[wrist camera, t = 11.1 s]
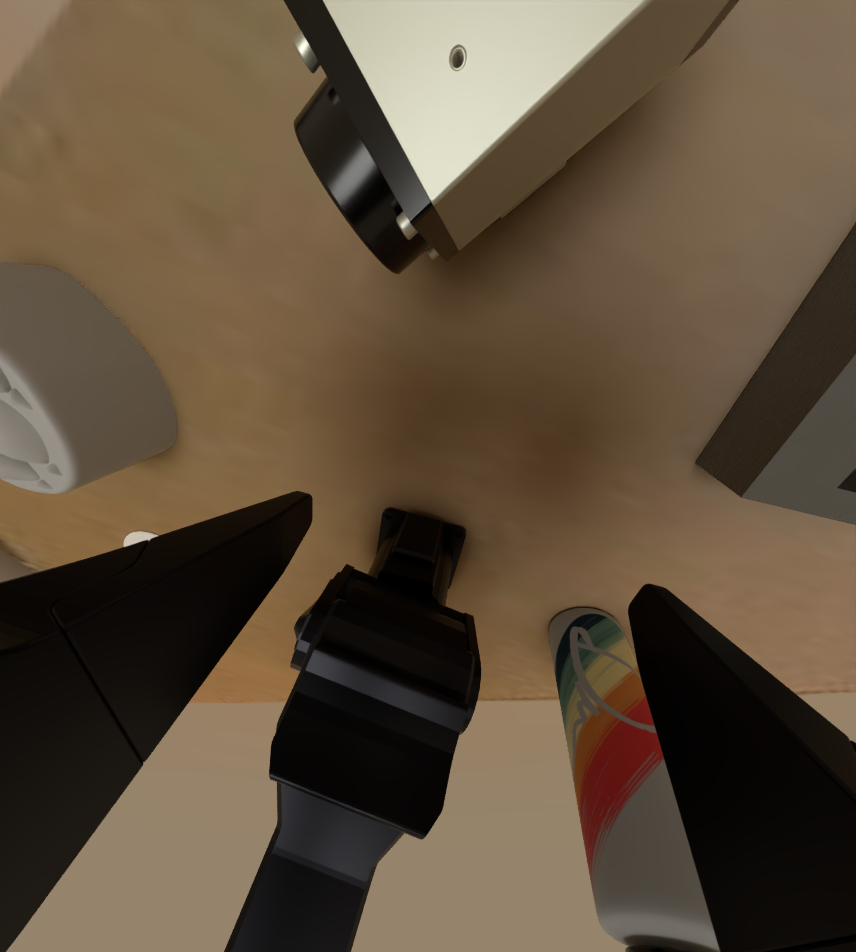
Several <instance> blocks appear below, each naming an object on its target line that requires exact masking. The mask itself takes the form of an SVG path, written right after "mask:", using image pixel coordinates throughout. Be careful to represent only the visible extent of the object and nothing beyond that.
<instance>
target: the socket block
mask: <svg viewBox="0 0 856 952" xmlns="http://www.w3.org/2000/svg"><path fill="white" fill-rule="evenodd" d="M696 464H697V465H699V466H700V467H701V468H703V469H704V470H705V471H707V472H708V473H709V474H711V475H712V476H713V477H715V478H716V479H717V480H719V481H720V482H721V483H723V484H724V485H725V486H727V487H728V488H729V489H731V490H732V491H733V492H735V493H736V494H737V495H739V496H740V497H741V498H746V499H750V500H754V501H758V502H762V503H766V504H771V505H775V506H779V507H783V508H787V509H791V510H796V511H800V512H804V513H808V514H812V515H817V516H821V517H825V518H829V519H833V520H837V521H842V522H846V523H850V524H854V525H856V224H855V226H854V227H853V229H852V230H851V232H850V233H849V235H848V236H847V238H846V239H845V241H844V242H843V244H842V245H841V247H840V248H839V250H838V251H837V253H836V254H835V256H834V257H833V259H832V260H831V262H830V263H829V265H828V266H827V268H826V269H825V271H824V272H823V274H822V275H821V277H820V278H819V280H818V281H817V282H816V284H815V285H814V287H813V288H812V290H811V291H810V293H809V294H808V296H807V297H806V299H805V300H804V302H803V303H802V305H801V306H800V308H799V309H798V311H797V312H796V314H795V315H794V317H793V318H792V320H791V321H790V323H789V324H788V326H787V327H786V329H785V330H784V332H783V333H782V335H781V336H780V338H779V339H778V341H777V342H776V344H775V345H774V347H773V348H772V349H771V351H770V352H769V354H768V355H767V357H766V358H765V360H764V361H763V363H762V364H761V366H760V367H759V369H758V370H757V372H756V373H755V375H754V376H753V378H752V379H751V381H750V382H749V384H748V385H747V387H746V388H745V390H744V391H743V393H742V394H741V396H740V397H739V399H738V400H737V402H736V403H735V405H734V406H733V408H732V409H731V411H730V412H729V414H728V415H727V416H726V418H725V419H724V421H723V422H722V424H721V425H720V427H719V428H718V430H717V431H716V433H715V434H714V436H713V437H712V439H711V440H710V442H709V443H708V445H707V446H706V448H705V449H704V451H703V452H702V454H701V455H700V457H699V458H698V460H697V461H696Z"/></svg>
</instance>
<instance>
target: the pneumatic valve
mask: <svg viewBox="0 0 856 952" xmlns="http://www.w3.org/2000/svg"><path fill="white" fill-rule="evenodd" d="M738 1H739V0H284V2H285V3H286V5H287V7H288V9H289V10H290V12H291V14H292V16H293V17H294V19H295V21H296V23H297V24H298V26H299V28H300V30H299V31H298V33H297V34H296V36H295V37H294V39H293V44H294V46H295V48H296V50H297V52H298V53H299V55H300V57H301V58H302V60H303V61H304V63H305V64H306V66H307V67H308V69H309V70H310V71H311V72H312V73H315V71H316V70H317V68H318V67H319V66H320V65H321V67H322V68H323V70H324V72H325V74H326V75H327V77H326V78H325V79H324V81H323V82H322V83H321V85H320V86H319V87H318V89H317V90H316V91H315V93H314V94H313V96H312V97H311V98H310V100H309V101H308V102H307V104H306V105H305V106H304V108H303V109H302V110H301V112H300V113H299V115H298V116H297V117H296V119H295V121H294V129H295V133H296V136H297V139H298V141H299V143H300V145H301V147H302V149H303V152H304V154H305V155H306V157H307V159H308V161H309V163H310V165H311V166H312V168H313V170H314V172H315V173H316V175H317V177H318V178H319V180H320V181H321V183H322V185H323V186H324V188H325V189H326V191H327V193H328V194H329V196H330V197H331V199H332V200H333V202H334V203H335V205H336V206H337V207H338V209H339V210H340V212H341V213H342V215H343V216H344V217H345V219H346V220H347V222H348V223H349V224H350V226H351V227H352V228H353V230H354V231H355V232H356V234H357V235H358V236H359V238H360V239H361V240H362V241H363V243H364V244H365V245H366V246H367V247H368V249H369V250H370V251H371V252H372V253H373V254H374V256H375V257H376V258H377V259H378V260H379V261H380V262H381V263H382V264H383V265H384V266H385V267H386V268H387V269H389V270H390V271H391V272H393V273H395V274H400V273H401V272H402V271H403V270H404V269H405V268H407V267H408V266H409V265H410V264H411V263H412V262H413V261H415V260H416V259H417V258H418V257H419V256H420V255H421V254H422V253H424V252H425V251H427V253H428V254H429V256H430V257H431V259H432V260H434V259H435V258H436V257H438V256H439V255H440V256H441V257H442V258H443V259H444V260H445V261H448V260H449V259H450V258H451V257H452V256H454V255H455V254H456V253H457V252H458V251H459V250H461V249H462V248H463V247H464V246H465V245H467V244H468V243H469V242H470V241H471V240H473V239H474V238H475V237H476V236H477V235H479V234H480V233H481V232H482V231H483V230H484V229H486V228H487V227H488V226H489V225H490V224H492V223H493V222H494V221H495V220H496V219H498V218H500V219H502V218H503V217H504V216H506V215H507V214H508V213H509V212H510V211H511V210H513V209H514V208H515V207H516V206H517V205H519V204H520V203H521V202H522V201H523V200H525V199H526V198H527V197H528V196H529V195H531V194H532V193H533V192H534V191H535V190H537V189H538V188H539V187H540V186H541V185H543V184H544V183H545V182H546V181H547V180H549V179H550V178H551V177H552V176H553V175H555V174H556V173H557V172H558V171H559V170H561V169H562V168H563V167H564V166H565V165H566V161H567V160H568V159H569V158H570V157H571V156H573V155H574V154H575V153H576V152H577V151H578V150H580V149H581V148H582V147H583V146H584V145H586V144H587V143H588V142H589V141H590V140H592V139H593V138H594V137H595V136H596V135H598V134H599V133H600V132H601V131H602V130H603V129H605V128H606V127H607V126H608V125H609V124H611V123H612V122H613V121H614V120H615V119H617V118H618V117H619V116H620V115H621V114H623V113H624V112H625V111H626V110H627V109H628V108H630V107H631V106H632V105H633V104H634V103H636V102H637V101H638V100H639V99H640V98H642V97H643V96H644V95H645V94H646V93H648V92H649V91H650V90H651V89H652V88H653V87H655V86H656V85H657V84H658V83H659V82H661V81H662V80H663V79H664V78H665V77H667V76H668V75H669V74H670V73H671V72H673V71H674V70H675V69H676V68H677V67H678V66H680V65H681V64H682V63H683V62H684V61H686V60H687V59H688V58H689V57H690V56H692V55H693V54H694V53H695V52H696V51H698V50H699V49H700V48H701V47H702V46H703V45H704V44H705V43H706V41H707V40H708V39H709V38H710V36H711V35H712V34H713V33H714V31H715V30H716V29H717V28H718V26H719V25H720V24H721V23H722V21H723V20H724V19H725V18H726V16H727V15H728V14H729V13H730V11H731V10H732V9H733V8H734V6H735V5H736V4H737V2H738ZM455 244H456V245H455ZM456 246H457V247H456ZM457 248H458V249H457Z"/></svg>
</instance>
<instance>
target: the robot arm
mask: <svg viewBox="0 0 856 952" xmlns="http://www.w3.org/2000/svg"><path fill="white" fill-rule="evenodd" d="M387 514H390V515H391V516H388V515H387ZM311 523H312V496H311V495H310V494H308V493H304V492H300V491H294V492H291V493H288V494H285V495H282V496H279V497H276V498H273V499H270V500H267V501H264V502H261V503H258V504H255V505H252V506H249V507H245V508H242V509H239V510H236V511H233V512H230V513H227V514H224V515H221V516H218V517H215V518H212V519H209V520H206V521H203V522H199V523H196V524H193V525H190V526H187V527H184V528H181V529H178V530H175V531H172V532H169V533H166V534H163V535H160V536H157V537H154V538H151V539H150V540H144V541H141V542H138V543H135V544H132V545H129V546H126V547H123V548H119V549H116V550H113V551H110V552H107V553H103V554H100V555H97V556H94V557H90V558H87V559H83V560H80V561H76V562H73V563H69V564H66V565H62V566H59V567H55V568H52V569H48V570H44V571H41V572H37V573H33V574H30V575H27V576H22V577H19V578H15V579H11V580H8V581H4V582H1V583H0V952H6V951H7V949H8V948H9V947H10V946H11V944H12V943H13V942H14V941H15V939H16V938H17V937H18V935H19V934H20V933H21V931H22V930H23V929H24V927H25V926H26V925H27V923H28V922H29V920H30V919H31V917H32V916H33V915H34V913H35V912H36V911H37V909H38V908H39V907H40V905H41V904H42V903H43V901H44V900H45V898H46V897H47V896H48V894H49V893H50V892H51V890H52V889H53V887H54V886H55V885H56V883H57V882H58V881H59V879H60V878H61V877H62V875H63V874H64V873H65V871H66V870H67V868H68V867H69V866H70V864H71V863H72V861H73V860H74V859H75V858H76V856H77V855H78V853H79V852H80V851H81V849H82V848H83V847H84V845H85V844H86V842H87V841H88V840H89V838H90V837H91V836H92V834H93V833H94V832H95V830H96V829H97V827H98V826H99V825H100V823H101V822H102V820H103V819H104V818H105V816H106V815H107V814H108V812H109V811H110V810H111V808H112V807H113V805H114V804H115V803H116V801H117V800H118V799H119V797H120V796H121V795H122V793H123V792H124V791H125V789H126V788H127V786H128V785H129V784H130V782H131V781H132V780H133V778H134V777H135V775H136V774H137V773H138V771H139V770H140V769H141V767H142V766H143V762H145V761H146V760H147V759H148V757H149V756H150V755H151V753H152V752H153V750H154V749H155V748H156V746H157V745H158V744H159V742H160V741H161V739H162V738H163V737H164V735H165V734H166V733H167V731H168V730H169V729H170V727H171V726H172V724H173V723H174V722H175V720H176V719H177V717H178V716H179V715H180V713H181V712H182V711H183V709H184V708H185V707H186V705H187V704H188V703H189V701H190V700H191V698H192V697H193V696H194V694H195V693H196V692H197V690H198V689H199V688H200V686H201V685H202V683H203V682H204V681H205V679H206V678H207V677H208V675H209V674H210V672H211V671H212V670H213V668H214V667H215V666H216V664H217V663H218V662H219V660H220V659H221V657H222V656H223V655H224V653H225V652H226V651H227V649H228V648H229V647H230V645H231V644H232V642H233V641H234V640H235V638H236V637H237V636H238V634H239V633H240V631H241V630H242V629H243V627H244V626H245V625H246V623H247V622H248V621H249V619H250V618H251V616H252V615H253V614H254V612H255V611H256V610H257V608H258V607H259V605H260V604H261V603H262V601H263V600H264V599H265V597H266V596H267V595H268V593H269V592H270V590H271V589H272V588H273V586H274V585H275V584H276V582H277V581H278V580H279V578H280V577H281V575H282V574H283V572H284V571H285V569H286V567H287V566H288V564H289V562H290V561H291V559H292V557H293V555H294V554H295V552H296V550H297V548H298V547H299V545H300V543H301V541H302V540H303V538H304V536H305V534H306V533H307V531H308V529H309V527H310V525H311ZM458 532H459V533H461V535H459V534H457V533H458ZM465 537H466V530H465V529H464V528H463V527H460V526H456V525H452V524H448V523H444V522H441V521H438V520H434V519H430V518H427V517H423V516H419V515H415V514H411V513H406V512H402V511H399V510H395V509H391V508H387V509H385V510H384V512H383V514H382V520H381V527H380V534H379V542H378V549H377V556H376V558H375V560H374V562H373V564H372V566H371V568H370V570H369V572H368V574H365V573H363V572H361V571H358V570H356V569H354V567H353V566H350V565H348V564H346V565H345V567H344V568H343V570H342V571H341V572H338V573H337V574H336V576H335V577H334V578H333V579H331V580H330V581H329V583H328V584H327V586H326V588H325V589H324V591H323V593H322V594H321V596H320V597H319V599H318V600H317V601H316V602H315V603H314V604H313V605H312V606H311V607H310V608H309V609H308V610H307V611H306V612H304V613H303V614H302V615H301V616H300V617H299V619H298V620H297V622H296V624H295V627H294V631H295V634H296V638H297V642H296V644H295V648H294V651H295V652H294V654H293V657H292V660H291V665H290V667H291V668H294V669H296V670H299V671H300V673H299V676H298V678H297V680H296V682H295V684H294V687H293V689H292V691H291V693H290V696H289V698H288V700H287V702H286V704H285V707H284V709H283V711H282V713H281V716H280V718H279V721H278V723H277V728H276V734H275V736H274V738H273V741H272V744H271V755H270V770H269V777H270V779H271V780H273V781H276V782H277V808H278V809H277V811H278V822H277V826H276V829H275V831H274V834H273V836H272V838H271V841H270V843H269V845H268V848H267V850H266V852H265V855H264V857H263V860H262V862H261V864H260V867H259V869H258V872H257V874H256V877H255V879H254V882H253V884H252V886H251V888H250V891H249V894H248V896H247V898H246V901H245V903H244V905H243V908H242V910H241V912H240V915H239V917H238V920H237V922H236V925H235V927H234V929H233V932H232V934H231V937H230V939H229V941H228V944H227V946H226V948H225V951H224V952H351V949H352V946H353V942H354V938H355V935H356V932H357V928H358V925H359V922H360V918H361V915H362V912H363V908H364V904H365V901H366V898H367V894H368V891H369V888H370V885H371V881H372V878H373V875H374V872H375V869H376V866H377V864H378V862H379V861H380V860H381V858H383V857H384V855H385V854H386V853H387V852H388V851H389V850H390V849H391V848H392V847H393V845H394V844H395V843H396V842H397V841H398V840H399V839H400V838H401V836H402V835H403V834H404V833H406V834H409V835H411V836H414V837H416V838H418V839H424V838H425V837H426V835H427V834H428V832H429V831H430V829H431V828H432V826H433V825H434V823H435V821H436V820H437V818H438V817H439V815H440V814H441V812H442V809H443V805H444V800H445V794H446V789H447V784H448V779H449V774H450V769H451V764H452V760H453V755H454V751H455V748H456V744H457V740H458V737H459V735H460V734H462V733H463V732H464V731H465V730H466V728H467V726H468V724H469V723H470V721H471V718H472V716H473V713H474V710H475V706H476V702H477V699H478V694H479V689H480V681H481V662H480V655H479V649H478V643H477V636H476V630H475V624H474V617H473V616H472V615H470V614H467V613H464V614H463V613H461V612H458V611H456V610H453V609H451V608H448V607H446V606H445V605H446V598H447V592H448V589H449V588H450V585H451V582H452V579H453V575H454V572H455V569H456V566H457V563H458V559H459V556H460V553H461V550H462V546H463V543H464V540H465ZM628 615H629V621H630V626H631V631H632V637H633V642H634V648H635V653H636V659H637V664H638V669H639V673H640V677H641V681H642V685H643V688H644V692H645V695H646V698H647V702H648V705H649V709H650V712H651V716H652V719H653V723H654V726H655V730H656V733H657V736H658V740H659V743H660V747H661V750H662V754H663V757H664V761H665V764H666V768H667V771H668V774H669V778H670V781H671V785H672V788H673V792H674V795H675V799H676V802H677V806H678V809H679V812H680V816H681V819H682V823H683V826H684V830H685V833H686V837H687V840H688V844H689V847H690V850H691V854H692V857H693V861H694V864H695V868H696V871H697V875H698V878H699V882H700V885H701V888H702V892H703V895H704V899H705V902H706V906H707V909H708V913H709V916H710V920H711V923H712V926H713V930H714V933H715V937H716V940H717V944H718V947H719V951H720V952H856V743H855V742H853V741H850V740H849V738H848V737H847V736H846V735H845V734H844V733H843V732H842V731H840V730H839V729H838V728H836V727H835V726H834V725H833V724H832V723H831V722H829V721H828V720H827V719H826V718H824V717H823V716H822V715H821V714H819V713H818V712H817V711H816V710H814V709H813V708H812V707H811V706H810V705H808V704H807V703H806V702H805V701H804V700H802V699H801V698H800V697H799V696H797V695H796V694H795V693H794V692H793V691H791V690H790V689H789V688H788V687H786V686H785V685H784V684H783V683H781V682H780V681H779V680H778V679H777V678H775V677H774V676H773V675H772V674H770V673H769V672H768V671H767V670H766V669H764V668H763V667H762V666H761V665H759V664H758V663H757V662H756V661H754V660H753V659H752V658H751V657H750V656H748V655H747V654H746V653H745V652H743V651H742V650H741V649H740V648H739V647H737V646H736V645H735V644H734V643H732V642H731V641H730V640H729V639H728V638H726V637H725V636H724V635H723V634H721V633H720V632H719V631H718V630H716V629H715V628H714V627H713V626H712V625H710V624H709V623H708V622H707V621H705V620H704V619H703V618H702V617H701V616H699V615H698V614H697V613H696V612H694V611H693V610H692V609H691V608H690V607H688V606H687V605H686V604H685V603H683V602H682V601H681V600H680V599H678V598H677V597H676V596H675V595H674V594H672V593H671V592H670V591H669V590H667V589H666V588H664V587H661V586H657V585H653V584H645V585H644V586H643V587H642V588H641V589H640V591H639V592H638V593H637V595H636V596H635V597H634V599H633V600H632V601H631V603H630V605H629V608H628Z"/></svg>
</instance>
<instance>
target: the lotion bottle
mask: <svg viewBox="0 0 856 952" xmlns="http://www.w3.org/2000/svg"><path fill="white" fill-rule="evenodd" d="M549 639H550V646H551V652H552V658H553V664H554V670H555V676H556V682H557V688H558V694H559V699H560V705H561V711H562V716H563V723H564V729H565V734H566V740H567V746H568V752H569V758H570V763H571V769H572V775H573V781H574V787H575V793H576V798H577V804H578V810H579V816H580V822H581V828H582V833H583V839H584V845H585V850H586V857H587V862H588V868H589V874H590V880H591V885H592V890H593V896H594V902H595V906H596V912H597V916H598V919H599V923H600V925H601V926H602V928H603V929H604V931H605V932H606V933H608V934H609V935H610V936H611V937H613V938H614V939H616V940H618V941H619V942H621V943H623V944H625V945H627V946H629V947H627V948H626V950H625V952H720V951H719V947H718V944H717V940H716V937H715V933H714V930H713V926H712V923H711V920H710V916H709V913H708V909H707V906H706V902H705V899H704V895H703V892H702V888H701V885H700V882H699V878H698V875H697V871H696V868H695V864H694V861H693V857H692V854H691V850H690V847H689V844H688V840H687V837H686V833H685V830H684V826H683V823H682V819H681V816H680V812H679V809H678V806H677V802H676V799H675V795H674V792H673V788H672V785H671V781H670V778H669V774H668V771H667V768H666V764H665V761H664V757H663V754H662V750H661V747H660V743H659V740H658V736H657V733H656V730H655V726H654V723H653V719H652V716H651V712H650V709H649V705H648V702H647V698H646V695H645V692H644V688H643V685H642V681H641V677H640V673H639V669H638V667H637V664H636V662H635V659H634V657H633V655H632V652H631V650H630V647H629V645H628V642H627V640H626V638H625V635H624V633H623V631H622V629H621V627H620V625H619V624H618V622H617V621H616V620H615V619H614V618H613V617H612V616H610V615H609V614H607V613H605V612H603V611H600V610H597V609H592V608H575V609H570V610H567V611H564V612H562V613H560V614H559V615H557V616H556V617H555V618H554V619H553V620H552V622H551V624H550V626H549Z"/></svg>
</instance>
